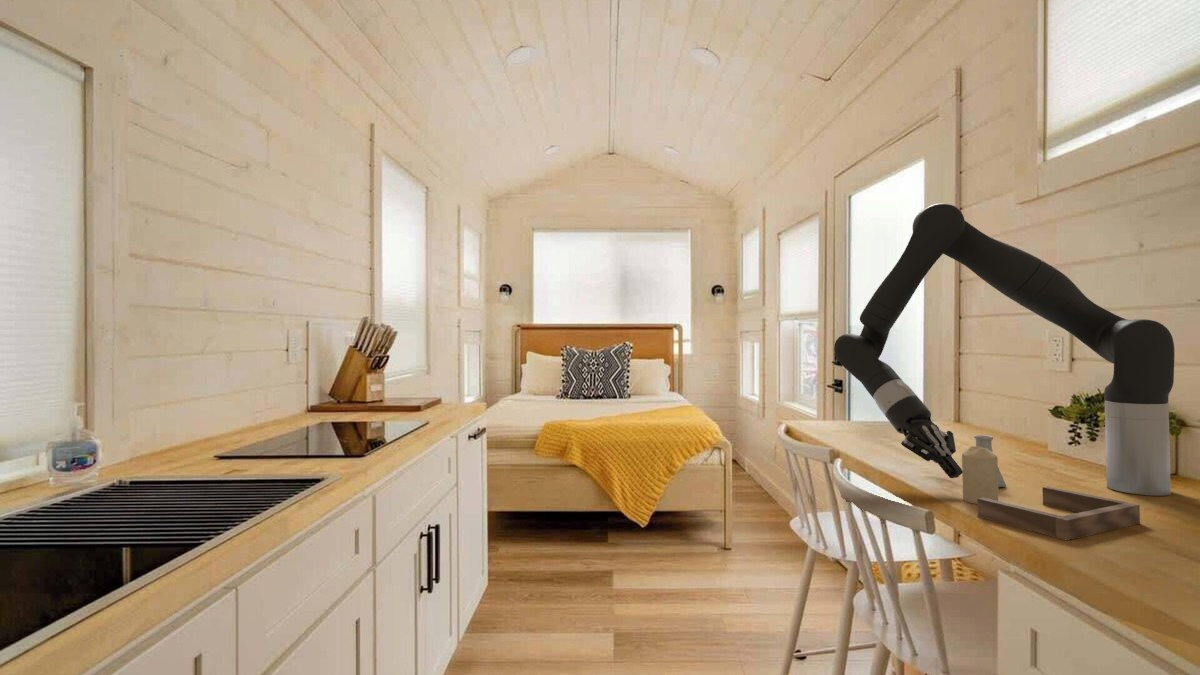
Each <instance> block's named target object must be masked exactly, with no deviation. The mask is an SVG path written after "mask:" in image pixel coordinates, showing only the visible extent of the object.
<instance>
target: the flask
mask: <svg viewBox="0 0 1200 675" xmlns="http://www.w3.org/2000/svg"><path fill="white" fill-rule="evenodd" d="M973 438H974V439H975V446H981V447H983V448H986V449H988V450H990V451H991V452H993V447H992V446H993V444H992V442H993V439H994V437H993V436H992V435H986V434H976V435H975V434H974V435H973ZM993 453H994V452H993ZM1004 487H1005V488H1006V487H1007V484H1006V481H1005V480H1004V477H1003V475H1002V472H1001V471H1000V469H999V467H998V488H1004Z"/></svg>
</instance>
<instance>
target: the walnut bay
mask: <svg viewBox="0 0 1200 675" xmlns="http://www.w3.org/2000/svg"><path fill="white" fill-rule="evenodd" d="M1042 505H1046V506H1051V507H1055V508H1059V509H1063V510H1067V509H1068V511H1072V510H1073V511H1072V512H1076V511H1077V513H1071V514H1070V513H1069V514H1067V515H1060V514H1059V515H1058V514H1055V513H1049V512H1046V511H1041V510H1038V509H1037V510H1036V509H1033V508H1029V507H1025V506H1021V505H1016V504H1012V503H1009V502H1004V501H999V500H998V501H996V500H992V499H987V498H978V504H977V517H979V518H983V519H986V520H989V521H993V522H997V523H1001V524H1004V525H1009V526H1013V527H1016V528H1018V529H1022V530H1023V529H1024V530H1026V531H1027V530H1028V531H1030V530H1031V532H1034V531H1035V533H1038V532H1039V533H1038V534H1041V533H1042V534H1041V535H1045V534H1046V536H1049V535H1050V537H1052V536H1054V537H1053V538H1056V537H1058V538H1057V539H1060V538H1062V539H1061V540H1064V539H1066V540H1065V541H1067V540H1068V541H1071V540H1070V539H1072V540H1075V538H1076V539H1080V538H1079V537H1081V538H1085V537H1088V536H1093V535H1097V534H1101V533H1106V532H1110V531H1114V530H1118V529H1122V527H1123V528H1126V527H1130V526H1136V525H1140V523H1141V514H1140V513H1141V510H1140V509H1141V508H1140V507H1141V505H1140V504H1138V503H1132V502H1128V501H1122V500H1117V499H1112V498H1108V497H1103V496H1098V495H1092V494H1088V493H1082V492H1076V491H1073V490H1067V489H1063V488H1058V487H1053V486H1043V487H1042ZM1084 536H1085V537H1084Z"/></svg>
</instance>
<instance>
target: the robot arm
mask: <svg viewBox="0 0 1200 675" xmlns="http://www.w3.org/2000/svg"><path fill="white" fill-rule="evenodd" d="M943 255H945V256H947V257H949V258H951V259H952V260H954V261H956V262H958V263H960V264H962V265H963V266H965V267H966V268H967V269H969V270H970V271H972V272H973V274H975V275H976V276H977V277H979V278H980V279H981V280H983V281H984V282H986V283H987V284H988V285H989V286H991V287H992V288H994V289H995V290H997V291H998V292H999V293H1001V294H1003V295H1004V296H1005V297H1007V298H1009V299H1010V300H1012V301H1013V302H1015V303H1017V304H1019V305H1020V306H1022V307H1023V308H1025V309H1027V310H1029V311H1030V312H1033V313H1035V314H1036V315H1038V316H1039V317H1041V318H1043V319H1045V320H1047V321H1048V322H1050V323H1051V324H1054V325H1056V326H1058V327H1060V328H1062V329H1063V330H1065V331H1067V332H1068V333H1070V334H1071V335H1072V336H1073V337H1075V338H1076V339H1078V340H1079V341H1080V342H1082V343H1083V344H1084V346H1087V347H1088V348H1089V349H1090V350H1092V351H1093V352H1094V353H1096V355H1098V356H1100V357H1101V358H1102V359H1104V360H1106V362H1109V363H1110V364H1113V375H1112V379H1111V382H1110V383H1109V384H1108V385H1105V388H1104V390H1103V391H1104V392H1103V393H1104V394H1103V397H1104V421H1105V422H1104V425H1105V427H1104V429H1105V430H1104V432H1105V434H1104V435H1105V464H1106V465H1105V469H1106V470H1105V472H1106V473H1105V474H1106V479H1105V480H1106V487H1107V488H1108V489H1111V490H1115V491H1117V492H1122V493H1128V494H1133V495H1141V496H1142V495H1143V496H1162V497H1163V496H1169V495H1171V494H1172V493H1171V492H1172V490H1171V487H1172V486H1171V485H1172V484H1171V454H1170V453H1171V449H1170V446H1171V444H1170V419H1169V418H1170V415H1169V414H1170V412H1169V411H1170V410H1169V408H1170V407H1169V396H1170V393H1171V390H1172V389H1173V387H1174V380H1175V378H1174V377H1175V343H1174V339H1173V335H1172V333H1171V332H1170V330H1169V329H1168V328H1167V327H1166V326H1165V325H1164V324H1162V323H1160V322H1158V321H1156V320H1153V319H1145V318H1142V319H1141V318H1140V319H1139V318H1137V319H1126V318H1124V317H1121V316H1119V315H1117V314H1115V313H1113V312H1111V311H1109V310H1108V309H1105V308H1103V307H1101V306H1099V305H1098V304H1096V303H1095V302H1094V301H1091V299H1089V298H1088V297H1087V296H1086V295H1085V294H1084V293H1083V292H1082V291H1081V290H1080V288H1078V286H1077V285H1076V284H1075V283H1074V282H1073V281H1072V280H1071V279H1070V278H1069V277H1068V276H1067V275H1065V274H1064V273H1063V272H1061V271H1060V270H1059V269H1058V268H1055V267H1054V266H1053V265H1051V264H1049V263H1047V262H1045V261H1044V260H1042V259H1040V258H1039V257H1037V256H1035V255H1033V254H1031V253H1029V252H1026V251H1025V250H1023V249H1020V248H1018V247H1015V246H1013V245H1010V244H1009V243H1004V242H1002V241H1001V240H997V239H995V238H993V237H990V236H989V235H987V234H985V232H982V231H981V230H979V229H978V228H976V227H974V226H973V225H972V224H970V223H969V222H968V221H966V220H965V217H964V213H962V211H961V210H960V209H959V208H958V207H957V206H955V205H954V204H950V203H935V204H931V205H929V206H927V207H924V209H922V210H921V211H919V213H918V214H917V215H916V216H915V218H914V220H913V222H912V234H911V236H910V238H909V241H908V243H907V245H906V248H905V250H904V251H903V253H902V255H901V256H900V258H899V259H898V260H897V262H896V264H895V265H894V266H893V268H892V270H890V271H889V273H888V274H887V276H886V277H885V278H884V279H883V281H882V282H881V284H879V286H878V288H876V290H875V292H874V293H873V294H872V296H871V297H870V299H869V300H868V302H867V303H866V306H865V307H864V308H863V310H862V312H861V314H860V316H859V321H860V323H861V324H862V325H863V327H862V329H861V332H860V334H859V335H857V334H856V333H855V334H854V333H844V334H842V335H840V336H839V337H837V339H836V340H835V342H834V347H833V351H834V352H833V353H834V355H835V357H836V359H837V360H838V362H839V363H840V364H841V365H842V367H844V369H845V370H846V371H848V373H850V374H851V376H853V377H854V378H856V380H858V381H859V382H860V383H861V384H862V385H863V387H864V389H866V391H867V393H869V395H870V396H871V398H872V399H873V400H874V401H875V402H874V403H875V404H876V406H877V407H878V408H879V410H880V411H881V413H882V414H883V415H884V416H885V418H886V419H887V420H888V422H889V423H890V424H891V425H892V427H893V428H894V429H895V430H896V432H897V433H899V434H903V436H904V437H905V438H904V439H903V440H902V441H901V442H900V444H901V446H902V447H904V448H905V449H907V450H909V451H911V452H912V453H913V454H915V455H917V456H918V457H920V458H921V459H923V460H925V461H927V462H930V461H933V463H935V464H938V465H939V467H940V468H941V469H942V471H943V472H944V473H945V474H946V475H947V477H948V478H950V479H956V478H959V476H961V475H962V467H961V466H960V465H959V464H958V463H957V462H956V460H955V459H954V458H953V457H952V455H953V454H955V453H956V452H957V451H956V450H957V449H956V443H955V437H954V433H953V432H952V431H951V430H947V431H946V432H945V431H943V430H940V428H939V426H938V425H937V424H935V423H934V422H933V421H932V419H931V418H932V412H931V411H930V410H929V408H928V407H927V406H926V405H925V404H924V402H923V401H922V400H921V398H920V397H919V396H918V395H917V394H916V393H915V392H914V390H913V389H912V388H911V387H910V386H909V385H908V384H906V383H905V382H904V380H903V379H902V378H901V377H900V376H899V375H898V374H897V372H896V371H895V370H894V369H893V368H892V367H891V366H890V365H889V364H888V363H886V362H884V361H882V360H881V359H879V358H880V357H881V355H882V353H883V351H884V349H885V346H886V344H887V343H886V342H887V341H888V338H889V335H890V330H891V329H892V327H894V324H895V323H896V322H897V320H898V319H899V317H900V316H901V314H902V313H903V311H904V310H905V308H906V306H907V305H908V303H909V302H910V300H911V299H912V297H913V295H914V294H915V292H916V290H917V289H918V287H919V286H920V284H921V283H922V282H923V280H924V278H926V275H927V274H928V273H929V271H930V270H931V269H932V267H933V266H934V265H935V263H936V262H937V261H938V260H939V259H940V258H941V257H942V256H943Z"/></svg>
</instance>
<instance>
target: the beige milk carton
mask: <svg viewBox="0 0 1200 675" xmlns="http://www.w3.org/2000/svg"><path fill="white" fill-rule="evenodd" d="M998 463H999V462H998V455H997V454H996V453H994V452H991V451H990V450H988V449H986V448H983V447H981V446H976V445H973V446H972V445H971V446H969V447H968V448H967V449H965V451H963V452H962V453H961V466H962V467H961V469H962V474H961V475H962V476H961V477H962V499H963V501H965V502H967V503H971V504H975V505H978V498H987V499H992V500H996V501H999V487H998V468H999V464H998Z"/></svg>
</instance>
